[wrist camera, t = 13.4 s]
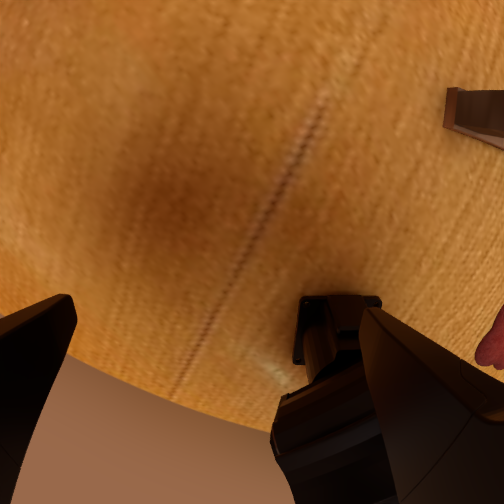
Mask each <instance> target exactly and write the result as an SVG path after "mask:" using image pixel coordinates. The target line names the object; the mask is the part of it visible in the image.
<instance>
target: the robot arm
mask: <svg viewBox="0 0 504 504" xmlns="http://www.w3.org/2000/svg"><path fill="white" fill-rule="evenodd" d="M305 302H309V304H307V305H304V303H305ZM375 302H378V303H377V304H376V305H373V304H374V303H375ZM381 307H382V301H381V299H380V298H379V297H376V296H375V297H362V296H361V295H330V296H305V297H302V298H301V299H300V301H299V309H298V317H297V325H296V333H295V340H294V348H293V355H292V360H293V363H294V364H295V365H306V370H307V376H308V382H309V385H307V386H305V387H303V388H301V389H299V390H297V391H295V392H293V393H291V394H289V393H287V394H285V395H283V396H281V399H280V402H279V406H278V409H277V413H276V416H275V419H274V422H273V424H272V429H271V435H270V444H271V447H272V450H273V454H274V456H275V460H276V462H277V463H278V465H279V466H280V468H281V470H282V471H283V473H284V475H285V477H286V479H287V481H288V483H289V485H290V488H291V491H292V494H293V497H294V501H295V504H504V383H503V382H501V381H499V380H497V379H495V378H493V377H491V376H490V375H488V374H486V373H484V372H482V371H481V370H479V369H477V368H476V367H474V366H472V365H471V364H469V363H468V362H466V361H464V360H463V359H460V357H458V356H456V355H455V354H453V353H452V352H450V351H448V350H447V349H445V348H444V347H442V346H440V345H439V344H437V343H436V342H434V341H432V340H431V339H429V338H427V337H426V336H424V335H423V334H421V333H419V332H418V331H416V330H414V329H413V328H411V327H410V326H408V325H406V324H405V323H403V322H401V321H400V320H398V319H397V318H395V317H393V316H392V315H390V314H388V313H387V312H385V311H383V310H382V309H381ZM76 325H77V314H76V310H75V306H74V303H73V299H72V297H71V296H70V295H68V294H57V295H55V296H52V297H50V298H48V299H45V300H43V301H40V302H38V303H36V304H33V305H31V306H29V307H26V308H24V309H22V310H19V311H17V312H15V313H12V314H10V315H8V316H6V317H4V318H1V319H0V504H10V503H11V500H12V496H13V493H14V489H15V486H16V482H17V479H18V476H19V473H20V470H21V468H20V467H21V466H22V463H23V460H24V457H25V454H26V451H27V448H28V446H29V443H30V440H31V437H32V435H33V432H34V429H35V427H36V424H37V422H38V419H39V416H40V414H41V411H42V409H43V406H44V404H45V402H46V399H47V397H48V395H49V392H50V390H51V387H52V385H53V383H54V381H55V378H56V376H57V374H58V372H59V370H60V367H61V365H62V363H63V361H64V358H65V355H66V353H67V350H68V347H69V344H70V341H71V338H72V336H73V333H74V330H75V328H76ZM296 359H300V360H296Z"/></svg>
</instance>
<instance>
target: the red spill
mask: <svg viewBox="0 0 504 504" xmlns="http://www.w3.org/2000/svg"><path fill="white" fill-rule="evenodd" d="M475 361H476V363H477V364H478V365H480V366H490V365H494V368H495V369H497V370H502V369H504V305H503V306H502V308H501V309H500V311H499V313H498V314H497V316H496V319H495V321H494V324H493V326H492V328H491V329H490V331H489V332H488V333H487V334H486V335H485V336H484V338H483V339H482V341H481V342H480V343H479V345H478V347H477V349H476V352H475Z"/></svg>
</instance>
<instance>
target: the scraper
mask: <svg viewBox="0 0 504 504" xmlns="http://www.w3.org/2000/svg"><path fill="white" fill-rule="evenodd" d="M443 127H444V128H447V129H450V130H453V131H456V132H459V133H461V134H464V135H467V136H469V137H472V138H475V139H477V140H480V141H482V142H485V143H487V144H490V145H492V146H494V147H497V148H499V149H501V150H504V90H476V91H466V90H464V89H461V88H459V87H454V88H447V96H446V105H445V114H444V122H443Z"/></svg>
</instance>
